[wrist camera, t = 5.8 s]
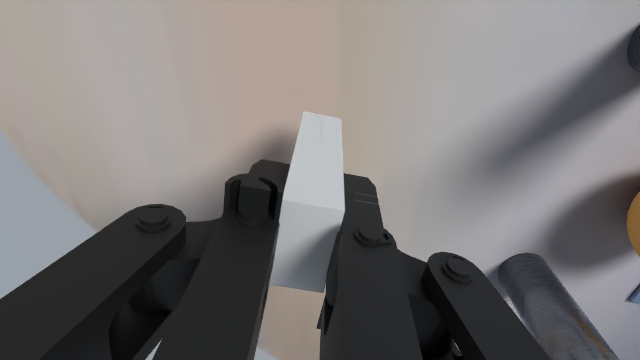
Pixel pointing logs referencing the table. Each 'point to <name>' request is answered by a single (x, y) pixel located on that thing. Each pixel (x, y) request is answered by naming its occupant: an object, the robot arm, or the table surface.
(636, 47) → the post
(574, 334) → the post
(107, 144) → the table surface
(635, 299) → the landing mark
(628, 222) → the ball
